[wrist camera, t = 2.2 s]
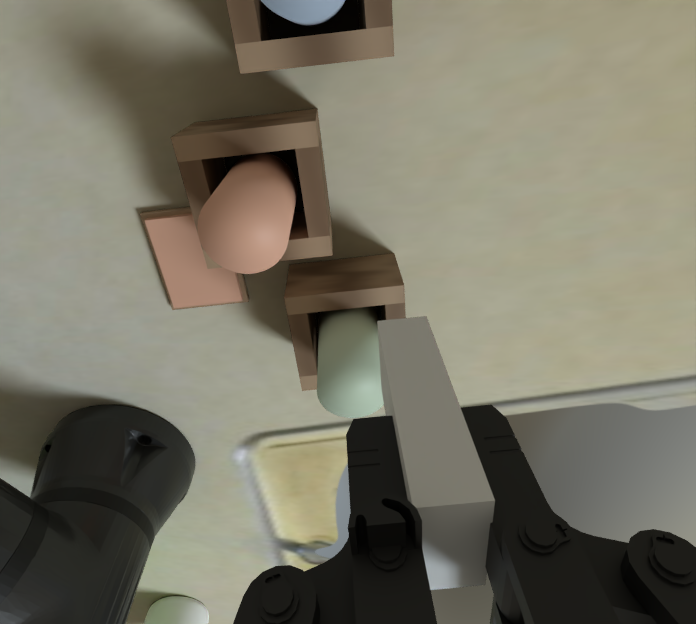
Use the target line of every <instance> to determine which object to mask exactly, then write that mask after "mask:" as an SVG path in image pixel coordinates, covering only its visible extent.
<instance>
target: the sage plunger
mask: <svg viewBox="0 0 696 624" xmlns="http://www.w3.org/2000/svg"><path fill="white" fill-rule="evenodd" d="M377 321H378V317H377V313H376V311H375V309H374V307H373V306H369V307H360V308H350V309H341V310H331V311H322V312H321V313H320V317H319V337H318V372H317V395H318V399H319V401H320V403H321V404H322V405H323V407H324V408H325V409H327V410H328V411H329V412H331V413H333V414H335V415H338V416H341V417H346V418H358V417H364V416H367V415H370V414H372V413H374V412H376V411H377V410H378V409H380V408H381V407H382V406H383V405H384V401H383V395H382V388H381V372H380V356H379V340H378V324H377Z"/></svg>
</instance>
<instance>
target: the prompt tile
mask: <svg viewBox="0 0 696 624" xmlns="http://www.w3.org/2000/svg"><path fill="white" fill-rule="evenodd" d="M140 216H141V219H142V222H143V225H144V228H145V231H146V234H147V237H148V239H149V242H150V245H151V248H152V251H153V254H154V257H155V260H156V263H157V266H158V269H159V272H160V275H161V278H162V281H163V284H164V287H165V289H166V292H167V295H168V298H169V301H170V304H171V307H172V310H176V309H186V308H195V307H204V306H213V305H223V304H232V303H241V302H249V295H248V291H247V287H246V283H245V279H244V274H242V273H236V272H233V271H230V270H227V269H225V268H223V267H222V268H212V269H208V268H207V265H206V261H205V257H204V254H203V250H202V247H201V243H200V240H199V236H198V233H197V229H196V225H195V222H194V218H193V215H192V211H191V208H190V207H184V208H175V209H166V210H157V211H148V212H142V213H141V214H140Z"/></svg>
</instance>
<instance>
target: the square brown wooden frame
mask: <svg viewBox="0 0 696 624" xmlns="http://www.w3.org/2000/svg"><path fill="white" fill-rule="evenodd" d="M284 300H285V305H286V310H287V316H288V321H289V326H290V331H291V336H292V341H293V346H294V351H295V357H296V362H297V367H298V372H299V377H300V382H301V387H302V391H305V390H315V389H317V372H318V337H319V335H318V329H317V322H316V316H315V312H322V311H331V310H341V309H350V308H360V307H369V306H378V305H380V307H381V320H392V319H402V318H406V316H405V294H404V283H403V280H402V277H401V274H400V270H399V267H398V264H397V261H396V258H395V255H394V253H391V254H382V255H373V256H364V257H354V258H345V259H336V260H327V261H317V262H308V263H299V264H290V266H289V272H288V278H287V284H286V290H285V296H284Z"/></svg>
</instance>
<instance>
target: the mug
mask: <svg viewBox="0 0 696 624" xmlns="http://www.w3.org/2000/svg"><path fill="white" fill-rule="evenodd" d="M208 621H209V613H208V610H207V608H206V607H205V605H203V604H202V603H201V602H199V601H198V600H195V599H192V598H189V597H183V596H171V597H165V598H162V599H160V600H158V601H156V602H155V603H153V604H152V606H151V607H150V608H149V610H148V612H147V615H146V618H145V621H144V624H208Z"/></svg>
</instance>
